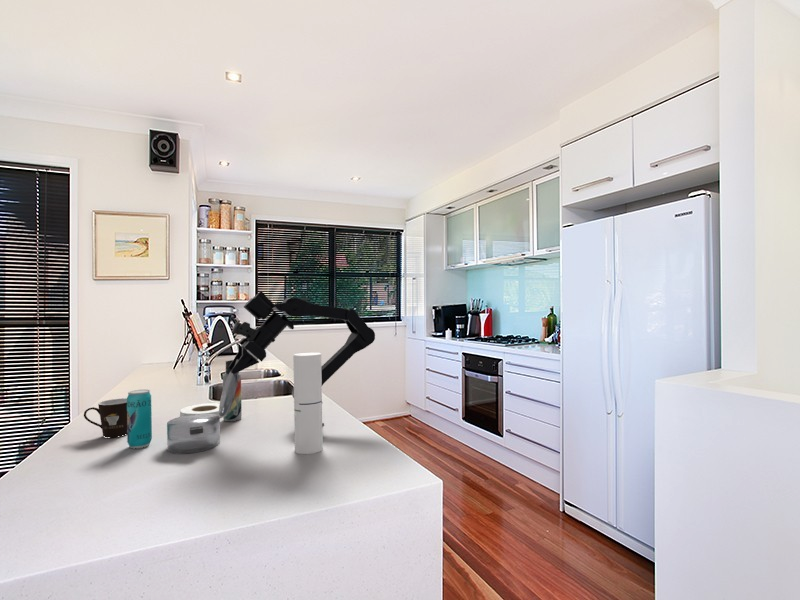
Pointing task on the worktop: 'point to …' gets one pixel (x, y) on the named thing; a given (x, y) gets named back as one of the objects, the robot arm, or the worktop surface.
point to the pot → (193, 433)
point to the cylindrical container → (308, 402)
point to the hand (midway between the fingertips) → (230, 370)
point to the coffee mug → (111, 417)
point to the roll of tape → (201, 409)
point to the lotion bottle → (236, 408)
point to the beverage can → (139, 418)
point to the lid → (228, 393)
